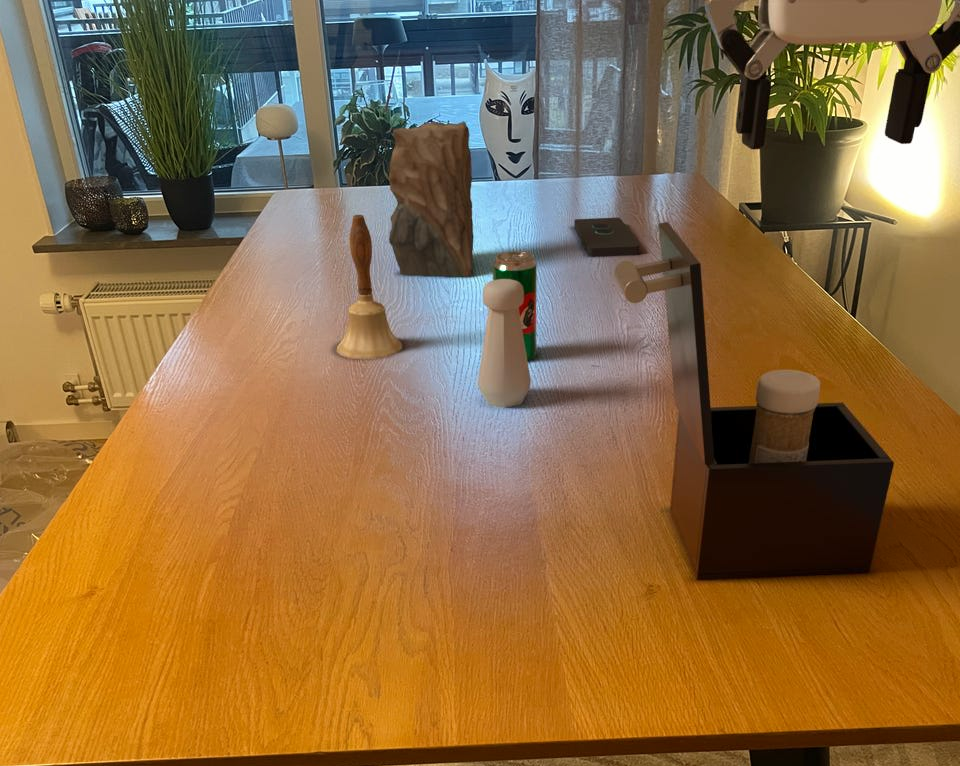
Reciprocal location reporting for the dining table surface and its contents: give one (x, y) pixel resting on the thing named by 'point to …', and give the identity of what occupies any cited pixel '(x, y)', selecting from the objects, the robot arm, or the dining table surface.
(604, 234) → the smart home device
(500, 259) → the soda can
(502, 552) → the dining table surface
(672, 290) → the lid
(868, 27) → the robot arm
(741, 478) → the box
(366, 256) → the hand bell
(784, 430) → the sprinkles bottle
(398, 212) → the owl
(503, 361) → the salt shaker
